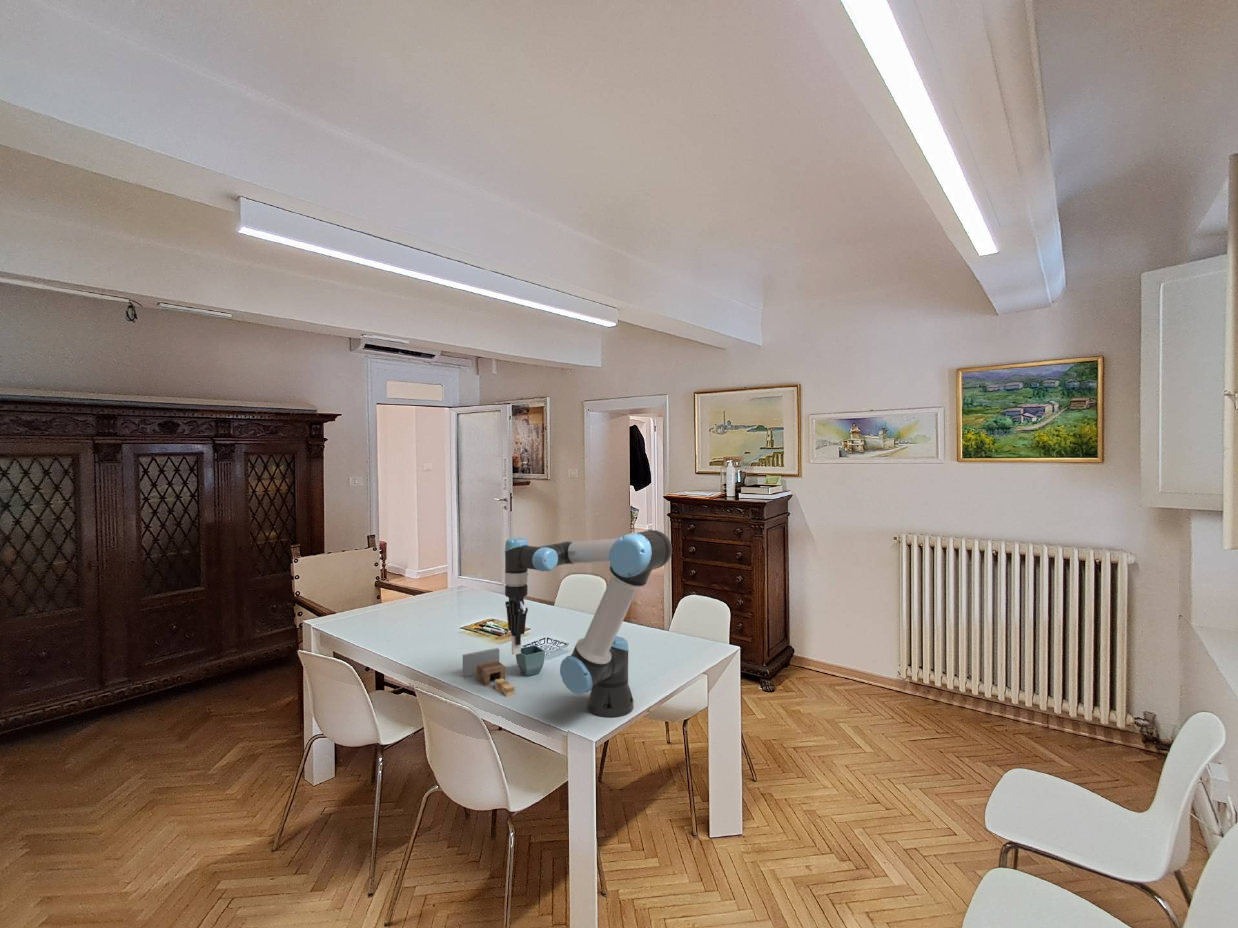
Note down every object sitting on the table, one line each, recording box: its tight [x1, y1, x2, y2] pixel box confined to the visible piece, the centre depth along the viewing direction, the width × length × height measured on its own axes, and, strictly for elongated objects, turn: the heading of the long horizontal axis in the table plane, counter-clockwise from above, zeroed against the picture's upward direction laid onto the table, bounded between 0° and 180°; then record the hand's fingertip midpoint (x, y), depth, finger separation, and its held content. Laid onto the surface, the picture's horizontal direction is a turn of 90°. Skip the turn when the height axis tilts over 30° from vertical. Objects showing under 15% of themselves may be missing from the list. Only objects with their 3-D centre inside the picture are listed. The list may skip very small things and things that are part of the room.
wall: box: [462, 647, 500, 678], centre depth 219 cm, size 2×14×8 cm, turn 125°
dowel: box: [494, 678, 515, 698], centre depth 201 cm, size 10×3×3 cm, turn 36°
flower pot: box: [515, 645, 546, 677], centre depth 218 cm, size 9×9×9 cm
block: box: [476, 660, 507, 687], centre depth 211 cm, size 8×8×6 cm
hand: (516, 653), depth 193 cm, fingers closed
